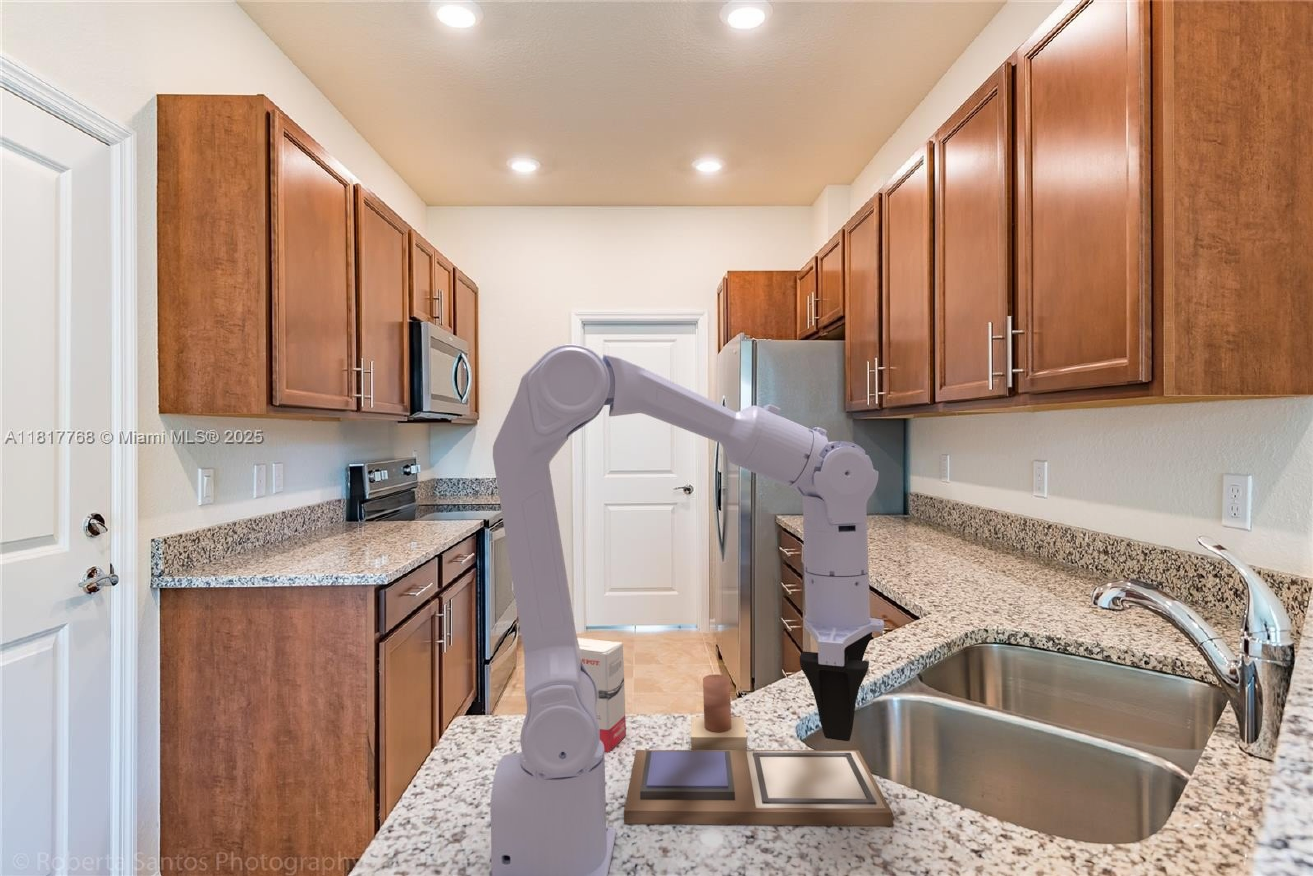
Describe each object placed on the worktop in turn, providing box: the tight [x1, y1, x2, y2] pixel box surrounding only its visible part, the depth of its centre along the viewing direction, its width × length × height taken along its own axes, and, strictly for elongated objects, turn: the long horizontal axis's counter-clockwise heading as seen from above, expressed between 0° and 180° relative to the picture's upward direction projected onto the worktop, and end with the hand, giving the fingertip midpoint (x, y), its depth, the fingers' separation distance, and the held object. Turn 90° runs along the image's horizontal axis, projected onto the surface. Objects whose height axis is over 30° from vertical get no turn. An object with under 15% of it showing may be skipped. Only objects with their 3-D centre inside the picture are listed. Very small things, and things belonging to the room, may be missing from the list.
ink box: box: [577, 637, 627, 753], centre depth 76 cm, size 8×5×12 cm, turn 66°
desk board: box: [623, 749, 894, 827], centre depth 64 cm, size 25×12×2 cm, turn 87°
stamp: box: [690, 674, 748, 750], centre depth 73 cm, size 6×5×8 cm
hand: (840, 720), depth 57 cm, fingers open, 7 cm apart
